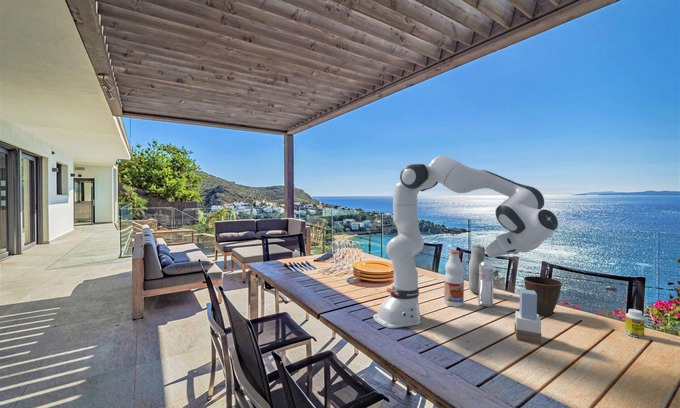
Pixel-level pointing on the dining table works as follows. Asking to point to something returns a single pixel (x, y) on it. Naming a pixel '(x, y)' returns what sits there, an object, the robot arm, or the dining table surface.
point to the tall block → (528, 304)
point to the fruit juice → (454, 281)
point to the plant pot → (544, 293)
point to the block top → (528, 323)
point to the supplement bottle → (634, 323)
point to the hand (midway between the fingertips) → (503, 254)
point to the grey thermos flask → (475, 267)
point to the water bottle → (486, 283)
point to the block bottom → (527, 336)
